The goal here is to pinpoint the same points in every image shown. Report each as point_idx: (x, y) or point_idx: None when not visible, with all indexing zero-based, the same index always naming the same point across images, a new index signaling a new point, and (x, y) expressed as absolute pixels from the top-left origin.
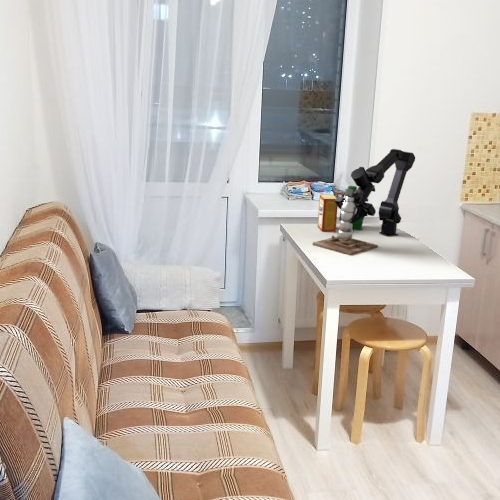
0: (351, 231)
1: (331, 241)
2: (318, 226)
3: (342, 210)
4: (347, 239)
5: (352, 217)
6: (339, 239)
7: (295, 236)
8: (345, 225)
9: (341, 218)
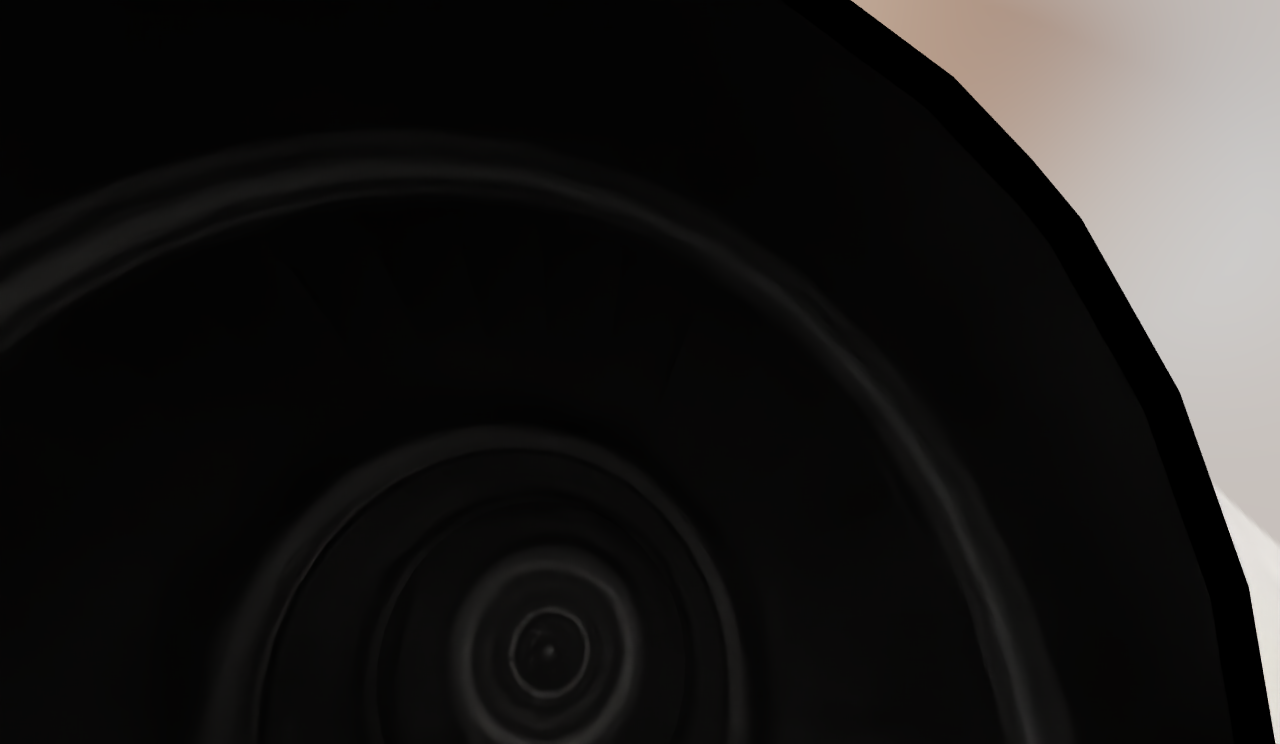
0: (369, 674)
1: None
2: None
3: (653, 173)
4: (443, 562)
5: (131, 618)
6: (591, 530)
7: (1251, 572)
8: (468, 480)
9: (651, 457)
